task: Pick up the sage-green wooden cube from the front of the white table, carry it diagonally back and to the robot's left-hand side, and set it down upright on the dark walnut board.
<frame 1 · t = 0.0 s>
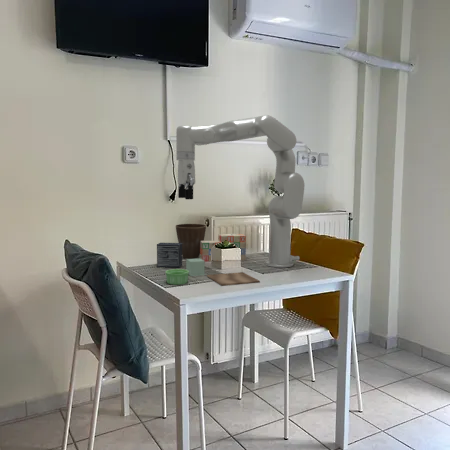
hand: (185, 198, 188), 31 cm above the table, fingers open, 9 cm apart
small box: (169, 266, 203), on the table
sage cube: (195, 274, 189), on the table
walnut board: (232, 279, 180), on the table
stack of blocks: (222, 260, 219), on the table
ramekin: (177, 283, 175), on the table
plant pot: (190, 258, 224), on the table
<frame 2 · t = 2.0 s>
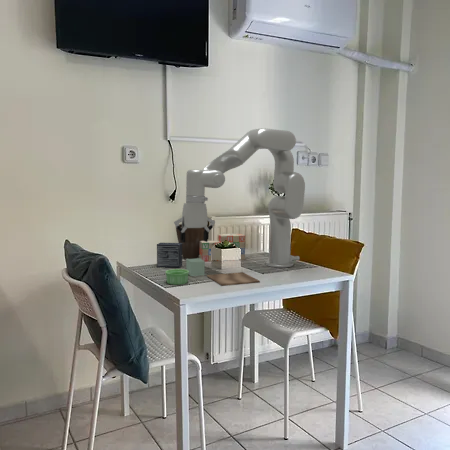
hand: (194, 241, 187), 14 cm above the table, fingers open, 9 cm apart
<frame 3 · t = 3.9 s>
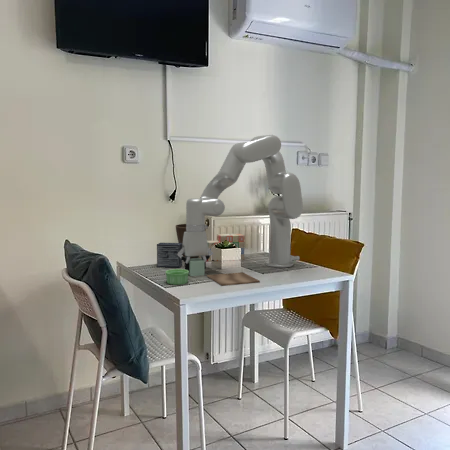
hand: (195, 271, 189), 1 cm above the table, fingers closed on sage cube, 6 cm apart
sage cube: (195, 273, 189), on the table, touching gripper
everything else where it was.
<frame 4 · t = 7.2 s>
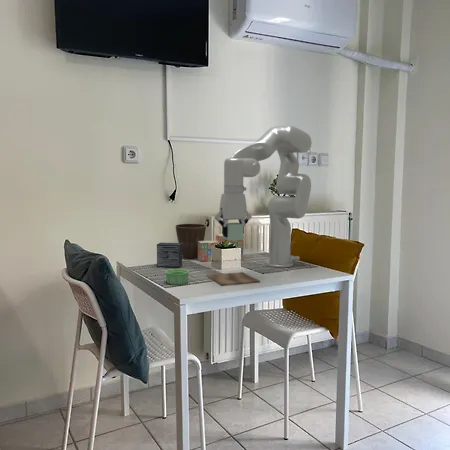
hand: (233, 235, 178), 17 cm above the table, fingers closed on sage cube, 6 cm apart
sage cube: (233, 238, 178), point 16 cm above the table, touching gripper
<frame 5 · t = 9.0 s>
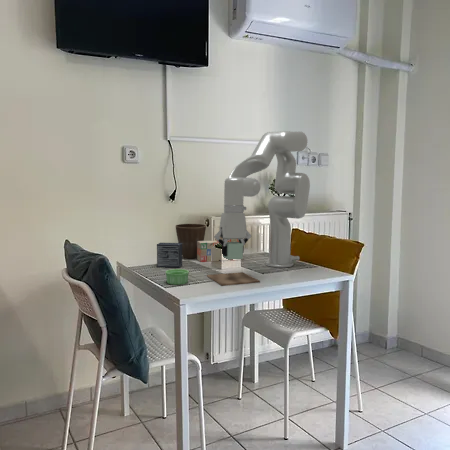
hand: (232, 254, 179), 10 cm above the table, fingers closed on sage cube, 6 cm apart
sage cube: (232, 257, 179), point 9 cm above the table, touching gripper
when the fingers open (3 cm above the table, at t = 10.7 s): sage cube drops 1 cm, resting on walnut board.
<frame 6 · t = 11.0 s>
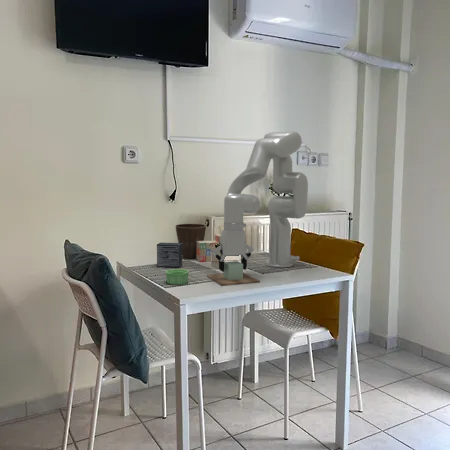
hand: (232, 269, 180), 4 cm above the table, fingers open, 9 cm apart
sage cube: (232, 277, 180), point 1 cm above the table, touching walnut board
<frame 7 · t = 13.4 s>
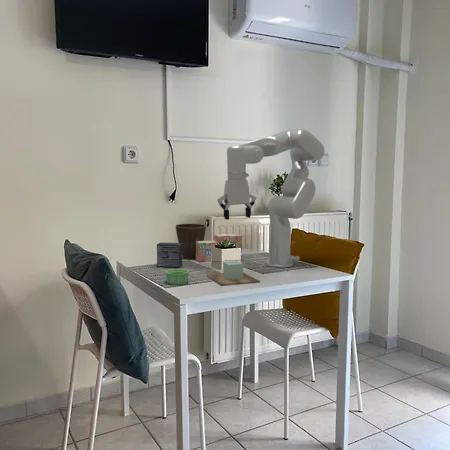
hand: (237, 218, 188), 23 cm above the table, fingers open, 9 cm apart
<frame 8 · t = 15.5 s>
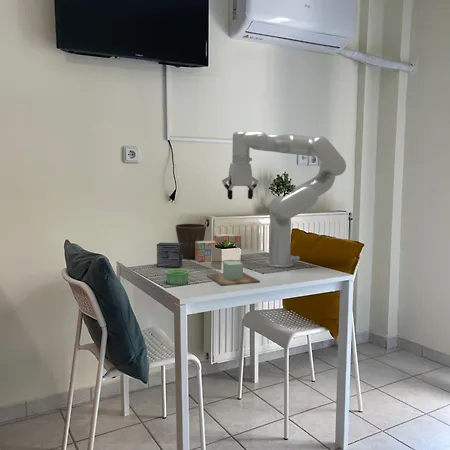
hand: (240, 199, 203), 30 cm above the table, fingers open, 9 cm apart
at the end: sage cube inside the target area on the walnut board (0.0 cm from its centre), point 0.6 cm above the walnut board's base; sage cube tilted 0°; the gripper is holding nothing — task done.
